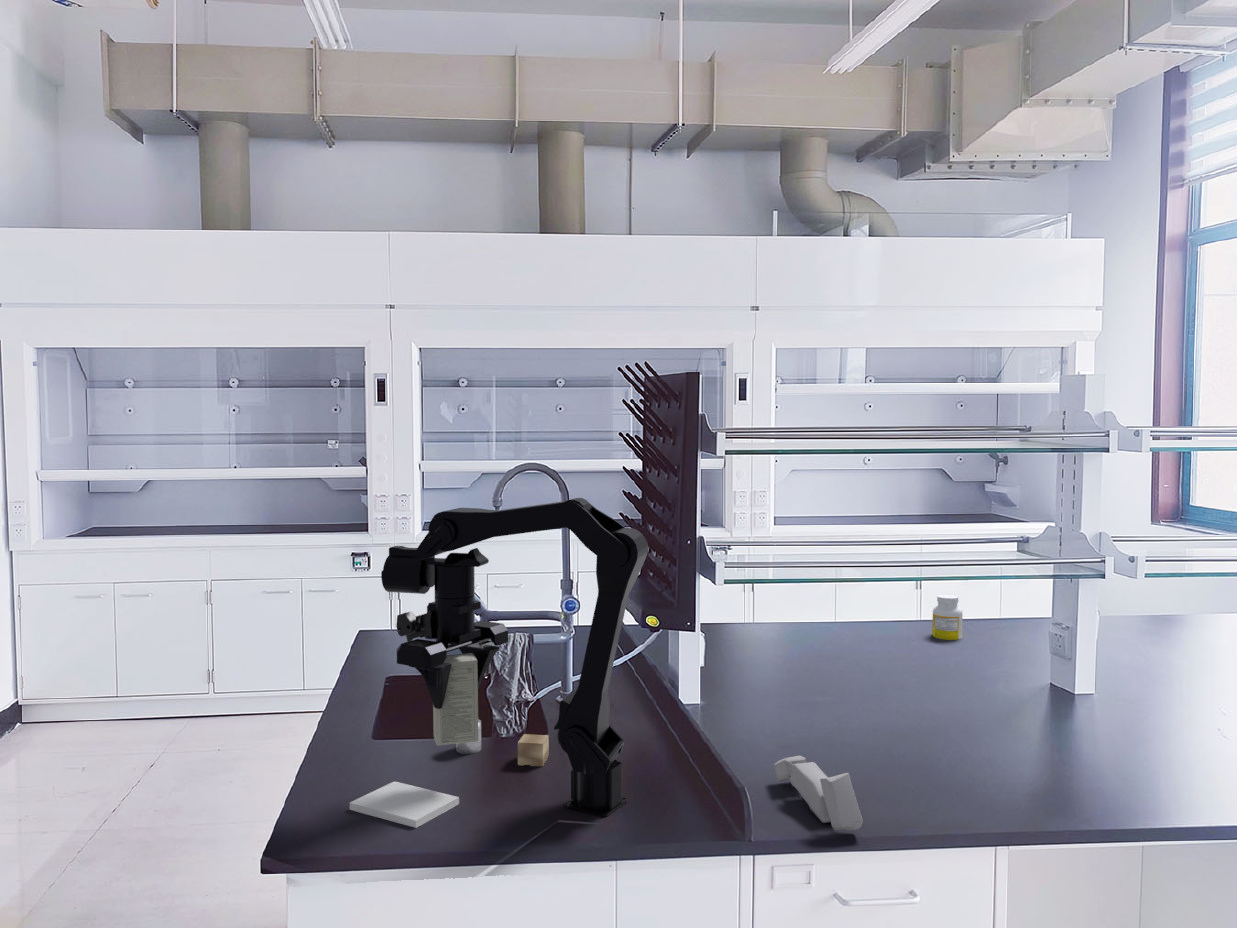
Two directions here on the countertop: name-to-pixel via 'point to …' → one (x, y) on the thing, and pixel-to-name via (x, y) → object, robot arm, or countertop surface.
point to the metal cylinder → (470, 744)
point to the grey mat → (404, 804)
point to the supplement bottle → (947, 618)
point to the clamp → (822, 792)
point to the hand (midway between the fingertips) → (455, 701)
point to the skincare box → (458, 703)
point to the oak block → (533, 750)
